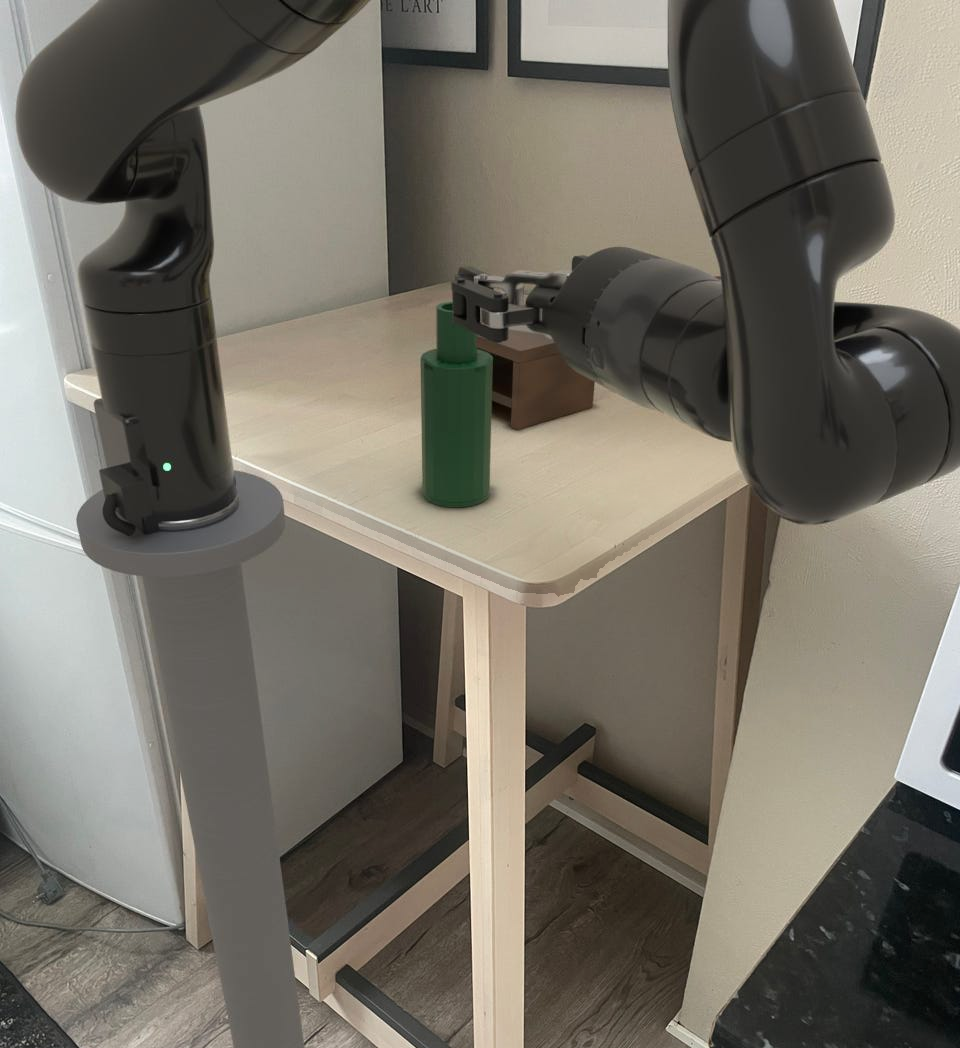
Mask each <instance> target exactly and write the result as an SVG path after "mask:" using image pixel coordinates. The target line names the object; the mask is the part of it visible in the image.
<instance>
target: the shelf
mask: <svg viewBox="0 0 960 1048" xmlns="http://www.w3.org/2000/svg"><path fill="white" fill-rule="evenodd" d="M477 349H479V350H482V351H485V352H487V353H489V354H490V355H491V356H492V357H493V374H492V402H495V403H497V404H500V405H502V406H505V407H508V408H510V409H511V410H510V411H511V412H510V413H511V414H510V416H511V417H510V428H512V429H514V430H516V431H518V430H522V429H525V428H528V427H532V426H535V425H538V424H541V423H544V422H548V421H551V420H554V419H558V418H561V417H564V416H565V417H566V416H568V415H572V414H574V413H578V412H580V411H584V410H587V409H591V408H593V407H594V395H595V383H596V382H594V381H592V380H590V379H589V378H587V377H585V376H583V375H581V374H579V373H578V372H576V371H575V370H574V369H572V368H571V367H570V366H569V365H568V364H567V362H566V361H565V360H564V358H563V357H562V355H561V354H560V352H559V350H558V348H557V346H556V344H555V342H554V340H549V339H547V338H546V337H545V336H544V335H541V334H533V333H525V332H517V331H510V330H508V340H507V341H502V342H501V343H496V342H494V341H490V340H487V339H485V338H483V337H481V336H479V335H477Z"/></svg>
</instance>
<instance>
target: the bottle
mask: <svg viewBox="0 0 960 1048" xmlns="http://www.w3.org/2000/svg"><path fill="white" fill-rule="evenodd" d="M452 314H453V303H452V301H447V302H442V303H439V304H437V305H436V306H435V321H436V322H435V323H436V324H435V325H436V326H435V328H436V330H435V331H436V332H435V333H436V334H435V336H436V337H435V338H436V343H435V344H436V348H434V349H429V350H427V351H425V352H423V353H421V356H420V416H421V417H420V420H421V477H422V478H421V481H422V484H421V485H422V495H423V497H424V499H425V500H427V501H428V502H430V503H432V504H434V505H437V506H440V507H445V508H457V509H459V508H469V507H473V506H477V505H479V504H482V503H484V502H485V501H486V500H487V499H488V498H489V496H490V489H491V488H490V487H491V454H492V453H491V452H492V451H491V450H492V413H493V412H492V411H493V410H492V407H493V400H492V374H493V357H492V356H491V355H490V354H489V353H487V352H485V351H482V350H479V349H477V334H475V333H473V332H471V331H469V330H467V329H465V328H463V327H460V326H458V325H456V324H454V323H453V322H452Z"/></svg>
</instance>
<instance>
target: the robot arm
mask: <svg viewBox="0 0 960 1048" xmlns="http://www.w3.org/2000/svg"><path fill="white" fill-rule="evenodd" d="M370 1H371V0H97V1H96V2H95V3H94V4H92V5H91V6H90V7H89V9H87V10H86V11H85V12H84V13H82V14H81V16H79V17H78V18H77V19H76V20H74V21H73V22H72V23H71V24H70V25H69V26H67V28H65V29H64V30H63V31H62V32H61V33H60V34H58V35H57V36H56V37H55V38H53V40H51V41H50V42H49V43H48V44H47V45H45V47H43V48H42V49H41V50H40V51H38V52H37V54H36V55H35V56H34V57H33V59H32V60H31V61H30V62H29V64H28V66H27V68H26V69H25V71H24V73H23V76H22V78H21V81H20V83H19V86H18V91H17V95H16V102H15V103H16V104H15V131H16V135H17V141H18V146H19V148H20V151H21V154H22V156H23V158H24V161H25V163H26V165H27V166H28V168H29V169H30V171H31V172H32V174H33V175H34V176H35V177H36V179H37V180H38V181H39V182H40V183H41V184H42V185H43V186H44V187H46V189H48V190H49V191H50V192H51V193H53V194H55V195H56V196H58V197H60V198H61V199H64V200H67V201H70V202H73V203H79V204H86V205H92V206H93V205H97V206H99V205H108V204H117V203H124V211H123V212H124V213H123V216H122V218H121V220H120V221H119V224H118V225H117V227H116V229H115V230H114V231H113V232H112V233H111V235H110V236H109V237H107V239H106V240H104V241H103V242H101V244H99V245H98V246H97V247H95V248H94V249H92V250H91V251H89V252H88V253H86V255H85V256H83V257H82V259H81V260H80V261H79V263H78V267H77V280H78V285H79V292H80V295H81V296H80V297H81V300H82V305H83V310H84V316H85V320H86V326H87V332H88V335H89V336H88V337H89V341H90V346H91V351H92V357H93V361H94V362H93V363H94V367H95V372H96V378H97V381H98V387H99V391H100V398H96V399H95V400H94V401H93V409H94V413H95V418H96V423H97V428H98V433H99V437H100V443H101V447H102V452H103V457H104V458H103V459H104V462H105V467H104V468H101V469H99V470H98V472H99V477H100V482H101V487H102V490H103V492H104V497H105V502H104V505H103V517H104V519H105V521H106V523H107V524H108V525H109V526H110V527H111V528H113V529H114V530H116V531H119V532H121V533H123V534H125V535H127V536H131V535H132V534H133V533H134V532H135V530H136V528H137V529H139V530H140V531H141V532H142V533H144V534H145V535H148V534H152V533H156V532H163V531H185V530H192V529H198V528H202V527H206V526H209V525H212V524H215V523H217V522H220V521H222V520H224V519H226V518H227V517H229V516H230V515H231V514H233V513H234V512H235V511H236V509H237V508H238V505H239V499H238V491H237V489H236V480H235V476H234V470H235V469H234V462H233V456H232V447H231V440H230V431H229V424H228V416H227V415H228V414H227V409H226V408H227V407H226V402H225V393H224V385H223V376H222V370H221V369H222V368H221V361H220V355H219V353H220V352H219V346H218V345H219V344H218V339H217V329H216V322H215V314H214V307H213V306H214V305H213V297H212V290H211V280H210V277H211V276H210V274H211V268H212V264H213V260H214V253H215V238H214V227H213V226H214V223H213V214H212V197H211V183H210V170H209V169H210V168H209V156H208V155H209V154H208V145H207V137H206V129H205V124H204V123H205V122H204V119H203V114H202V111H201V107H200V106H202V105H205V104H207V103H210V102H213V101H216V100H218V99H220V98H223V97H226V96H229V95H231V94H234V93H236V92H238V91H241V90H243V89H246V88H248V87H251V86H253V85H255V84H258V83H260V82H262V81H265V80H266V79H270V78H271V77H273V76H275V75H277V74H279V73H281V72H283V71H285V70H287V69H289V68H290V67H291V66H293V65H295V64H296V63H298V62H300V61H301V60H303V59H304V58H306V57H307V56H309V55H311V53H313V52H314V51H315V50H317V49H318V48H319V47H320V46H321V45H322V44H324V43H325V42H326V41H327V40H328V39H329V38H330V37H331V36H333V35H334V34H335V33H336V32H338V31H339V30H340V29H341V28H342V27H343V26H345V24H347V23H348V22H349V21H350V20H352V19H353V18H354V17H355V16H356V15H358V13H360V12H361V11H362V10H363V9H364V8H365V7H366V6H367V5H368V3H370ZM666 7H667V10H666V11H667V15H666V17H667V19H666V21H667V22H666V23H667V25H666V26H667V29H666V31H667V73H668V84H669V92H670V93H669V94H670V99H671V106H672V113H673V118H674V123H675V128H676V131H677V135H678V140H679V143H680V147H681V151H682V154H683V158H684V162H685V165H686V168H687V171H688V174H689V177H690V181H691V183H692V187H693V190H694V194H695V196H696V199H697V201H698V202H697V203H698V206H699V209H700V212H701V215H702V217H703V218H702V219H703V221H704V225H705V227H706V230H707V233H708V237H709V238H710V239H711V240H710V241H711V245H712V248H713V251H714V254H715V257H716V260H717V264H718V267H719V268H718V269H719V273H720V276H721V281H720V280H718V279H717V278H715V277H714V275H711V274H710V273H708V272H706V271H705V270H702V269H699V268H697V267H694V266H690V265H688V264H685V263H681V262H678V261H674V260H671V259H667V258H666V257H665V258H664V257H661V256H658V255H654V254H651V253H648V252H645V251H642V250H638V249H635V248H633V247H632V248H631V247H626V246H612V247H606V248H603V249H600V250H598V251H596V252H594V253H592V254H590V255H589V256H588V255H585V254H581V255H574V256H573V257H572V259H571V270H569V269H557V270H554V271H553V272H547V271H534V270H524V269H517V270H515V271H511V272H510V273H507V274H506V275H505V276H500V275H491V274H489V273H487V272H484V271H482V270H480V269H478V268H475V267H472V266H470V265H469V266H460V267H459V268H458V271H457V273H456V274H454V280H451V282H450V286H451V288H450V289H451V298H452V301H451V302H452V303H453V314H452V322H453V323H454V324H456V325H458V326H460V327H463V328H465V329H467V330H469V331H471V332H473V333H475V334H477V335H479V336H481V337H483V338H485V339H487V340H490V341H494V342H496V343H501V342H502V341H507V340H508V330H510V331H517V332H525V333H533V334H541V335H544V336H545V337H546V338H547V339H549V340H554V342H555V344H556V346H557V348H558V350H559V352H560V354H561V355H562V357H563V358H564V360H565V361H566V362H567V364H568V365H569V366H570V367H571V368H572V369H574V370H575V371H576V372H578V373H579V374H581V375H583V376H585V377H587V378H589V379H590V380H592V381H594V382H595V383H596V384H598V385H600V386H602V387H603V388H605V389H607V390H609V391H611V392H613V393H615V394H617V395H618V396H620V397H622V398H624V399H625V400H627V401H630V402H632V403H634V404H636V405H637V406H639V407H642V408H645V409H648V410H651V411H655V412H658V413H662V414H665V415H667V416H668V417H670V418H672V419H674V420H676V421H678V422H680V424H684V425H685V426H686V427H689V428H691V429H693V430H695V431H697V432H699V433H701V434H702V435H705V436H707V437H709V438H712V439H715V440H717V441H722V442H729V443H731V444H732V448H733V452H734V457H735V459H736V462H737V465H738V468H739V470H740V473H741V475H742V476H743V479H744V481H745V482H746V483H747V485H748V486H749V488H750V489H751V491H752V493H753V494H754V495H755V496H756V498H758V499H759V501H760V502H761V503H762V504H763V505H764V506H765V507H766V508H767V509H768V510H770V511H771V512H772V513H774V514H775V515H777V516H778V517H779V518H781V519H783V520H786V521H788V522H791V523H793V524H796V525H800V526H801V525H802V526H819V525H826V524H829V523H833V522H836V521H838V520H841V519H844V518H846V517H849V516H851V515H854V514H856V513H858V512H860V511H862V510H865V509H867V508H870V507H871V506H875V505H877V504H879V503H882V502H884V501H886V500H889V499H891V498H894V497H896V496H898V495H901V494H903V493H906V492H908V491H911V490H914V489H916V488H918V487H921V486H923V485H926V484H928V483H930V482H933V481H935V480H937V479H940V478H942V477H944V476H947V475H949V474H950V473H953V472H954V471H956V470H957V469H959V468H960V328H959V327H957V326H956V325H954V324H952V323H951V322H950V321H947V320H945V319H943V318H941V317H939V316H936V315H934V314H932V313H929V312H926V311H923V310H919V309H914V308H910V307H904V306H898V305H890V304H881V303H880V304H879V303H869V302H867V303H866V302H849V301H847V302H846V301H835V297H836V289H837V285H838V282H839V280H840V279H842V278H844V276H846V275H848V274H850V273H851V272H852V271H855V270H856V269H858V268H859V267H861V266H862V265H864V264H866V263H867V262H868V261H870V260H871V259H872V258H874V256H876V255H877V254H878V253H880V251H882V250H883V248H885V246H886V245H887V243H888V242H889V241H890V240H891V237H892V234H893V232H894V229H895V222H896V211H895V206H894V200H893V195H892V191H891V188H890V183H889V180H888V176H887V172H886V169H885V166H884V163H883V162H882V155H881V152H880V149H879V145H878V142H877V139H876V135H875V132H874V128H873V126H872V122H871V119H870V116H869V112H868V108H867V106H866V102H865V98H864V96H863V93H862V92H863V91H862V89H861V85H860V83H859V79H858V77H857V74H856V69H855V68H854V64H853V61H852V58H851V54H850V51H849V48H848V44H847V41H846V38H845V35H844V31H843V28H842V24H841V21H840V18H839V14H838V12H837V8H836V5H835V1H834V0H667V6H666ZM525 285H535V286H534V287H533V289H532V290H531V291H530V293H529V294H528V295H527V296H526V298H525ZM495 289H499V290H502V291H497V290H495ZM115 511H116V512H117V513H118V514H119V515H121V516H122V517H123V518H124V519H125V520H127V521H128V522H129V523H128V522H126V521H123V520H121V519H120V518H118V517H117V515H116V513H115ZM130 523H131V524H130ZM132 524H133V525H132Z"/></svg>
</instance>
